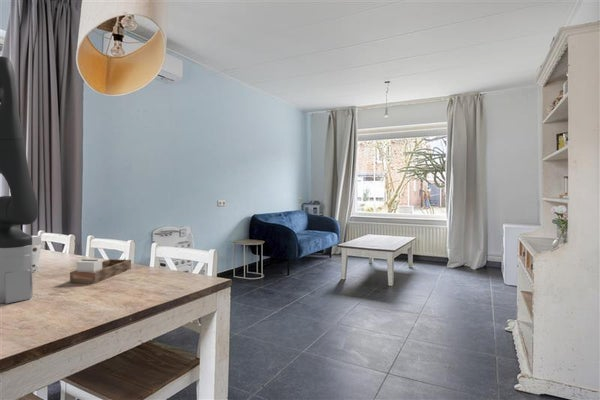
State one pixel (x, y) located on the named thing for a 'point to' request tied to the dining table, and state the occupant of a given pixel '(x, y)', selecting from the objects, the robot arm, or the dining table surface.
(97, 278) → the wooden tray
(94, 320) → the dining table surface
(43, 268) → the dining table surface
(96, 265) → the slider block
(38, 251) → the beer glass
